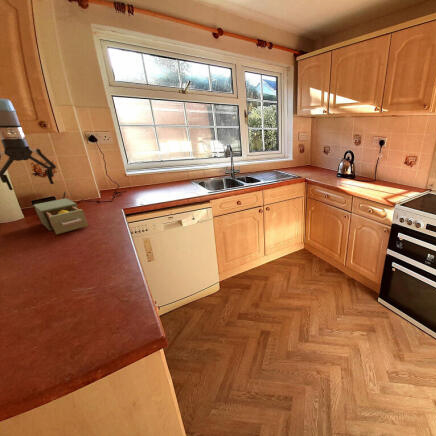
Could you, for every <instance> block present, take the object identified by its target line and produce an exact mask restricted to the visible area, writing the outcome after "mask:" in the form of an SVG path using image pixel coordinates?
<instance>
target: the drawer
mask: <svg viewBox="0 0 436 436" xmlns="http://www.w3.org/2000/svg"><path fill="white" fill-rule="evenodd" d="M61 210H66V211H69V212H67V213H63V214H58V213H59V212H60V211H61ZM44 213H45V216H46V218H47V220H48V223H49V225H50V226H51V227H52V228H53V229H54V230H53V231H54V233H55V235H59V234H64V233H68V232H71V231H74V230H78V229H81V228H85V227H88V226H89V224H88V220H87V218H86V215H85V213H84V210H83V209H79V208H76V207H74V206H69V207H65V208H60V209H55V210H51V211H46V212H44Z"/></svg>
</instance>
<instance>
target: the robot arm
mask: <svg viewBox="0 0 436 436" xmlns="http://www.w3.org/2000/svg"><path fill="white" fill-rule="evenodd" d="M0 142H1V145H2V147H3V149H4V151H0V160H2V159H1V158H2V157H3V156H4V155H5V156H7V157H8V159H7V160H6V162H4V164H3V166H2V167H1V168H0V181H1V182H2V183H3V184H6V186H7V187H8V189H9V191H13V190H14V189H13V187H12V184H11V182H10V180H9V177H8V175H7V174H5V173H6V172H7V171H8V169H9V168H10V166H11V165H12V163H13V162H14V161H16V162H20V161H28V160H31V161H33V162H34V163H36V164H37V165H39V166H41V167H43V168H45V173H46V175H47V179H48V181H49V184H50V185H54V184H55V183H54V180H53V178H52V177H54V176H55V175H54V172H53V169H56V168H57V165H56V164H54V163H53V162H52V161H51V160H50V159H48V157H46V156H45V155H44V153H43V152H42V151H41V149H40V148H35V149H34V148H33V149H31V148H30V146H29V143H28V140H27V139H26V138H25V133H24V131H23V128H22V125H21V123H20V121H19V118H18V114H17V111H16V108H15V107H14V104H13V103H12V101H11V100H10V99H8V98H0ZM33 153H34V154H35V155H38V156H39V157H40V158H41V159H42V160H43V161H44V162H45V163H46V164H45V163H43V162H42V161H40V160H38V159H37V158H35V157H34V156H32V155H33ZM47 164H48V165H47Z"/></svg>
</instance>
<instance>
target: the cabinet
mask: <svg viewBox="0 0 436 436" xmlns="http://www.w3.org/2000/svg"><path fill="white" fill-rule="evenodd" d="M69 206H74V207H76V208H78V204H77V203H76V202H74V201H72V200H70V199H69V198H66V197H65V198H64V199H63V198H61V199H54V200H50V201H45V202H40V203H35V204H33V207H34V210H35V212H36V214H37V216H38V219H39V220H40V223H41V225H43V226H44V227H45V229H47V230H48V231H55V230H54V229H53V228H52V227H51V226H50V225H49V223H48V220H47V218H46V216H45V213H44V212H46V211H51V210H55V209H60V208H65V207H69ZM78 209H79V208H78Z"/></svg>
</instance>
